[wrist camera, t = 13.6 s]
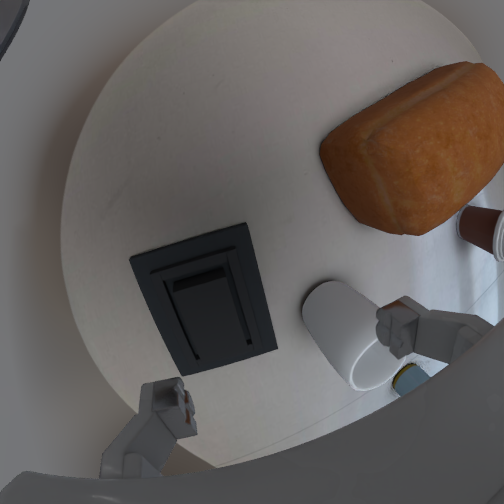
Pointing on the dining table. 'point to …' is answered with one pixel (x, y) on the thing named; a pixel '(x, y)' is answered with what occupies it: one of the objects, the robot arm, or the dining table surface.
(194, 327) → the black pad
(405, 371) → the bottle
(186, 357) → the base pad
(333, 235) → the dining table surface
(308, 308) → the cup
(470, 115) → the bread
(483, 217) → the coffee cup
